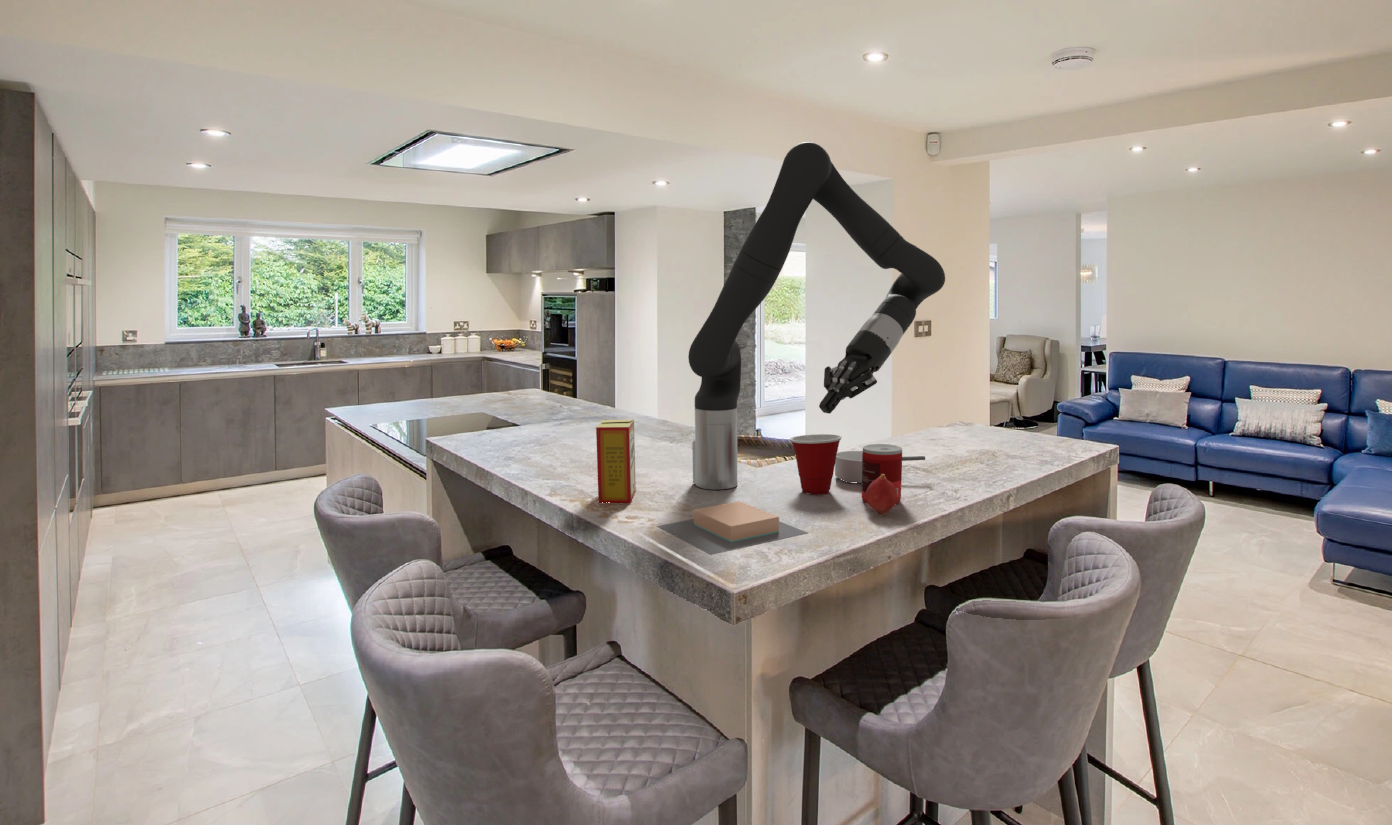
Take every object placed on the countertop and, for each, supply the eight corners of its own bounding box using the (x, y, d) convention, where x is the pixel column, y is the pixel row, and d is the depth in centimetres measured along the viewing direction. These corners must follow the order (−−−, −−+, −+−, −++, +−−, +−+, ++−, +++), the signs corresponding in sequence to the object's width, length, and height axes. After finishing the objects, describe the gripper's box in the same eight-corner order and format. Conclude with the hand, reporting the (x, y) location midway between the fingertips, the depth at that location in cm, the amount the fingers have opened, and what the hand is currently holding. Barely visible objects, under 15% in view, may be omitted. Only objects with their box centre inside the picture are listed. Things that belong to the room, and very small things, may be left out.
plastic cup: (811, 482, 166) (812, 429, 164) (851, 491, 158) (852, 435, 156) (778, 491, 159) (778, 435, 157) (818, 501, 151) (819, 442, 149)
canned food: (903, 498, 152) (905, 445, 151) (896, 508, 145) (898, 452, 144) (866, 494, 156) (867, 442, 154) (857, 504, 148) (858, 449, 147)
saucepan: (928, 487, 161) (929, 462, 160) (833, 485, 164) (834, 460, 163) (920, 475, 172) (921, 451, 172) (832, 473, 175) (832, 449, 175)
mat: (656, 528, 134) (656, 525, 134) (748, 511, 144) (748, 508, 144) (710, 557, 119) (710, 554, 119) (808, 535, 129) (808, 532, 129)
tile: (739, 515, 140) (693, 524, 135) (739, 501, 139) (693, 509, 134) (778, 532, 130) (730, 542, 124) (778, 516, 129) (730, 526, 124)
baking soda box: (630, 503, 151) (628, 425, 149) (598, 503, 151) (596, 425, 149) (635, 491, 160) (633, 417, 158) (605, 491, 160) (603, 418, 158)
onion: (858, 514, 141) (859, 473, 140) (877, 509, 145) (878, 468, 144) (884, 521, 137) (885, 478, 136) (903, 515, 140) (904, 473, 139)
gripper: (841, 327, 148) (790, 393, 143) (890, 330, 137) (837, 401, 132) (860, 353, 151) (811, 418, 147) (909, 358, 140) (858, 428, 136)
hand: (824, 410), depth 140 cm, fingers closed
